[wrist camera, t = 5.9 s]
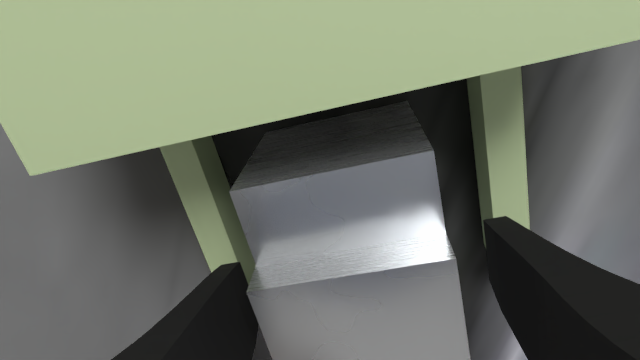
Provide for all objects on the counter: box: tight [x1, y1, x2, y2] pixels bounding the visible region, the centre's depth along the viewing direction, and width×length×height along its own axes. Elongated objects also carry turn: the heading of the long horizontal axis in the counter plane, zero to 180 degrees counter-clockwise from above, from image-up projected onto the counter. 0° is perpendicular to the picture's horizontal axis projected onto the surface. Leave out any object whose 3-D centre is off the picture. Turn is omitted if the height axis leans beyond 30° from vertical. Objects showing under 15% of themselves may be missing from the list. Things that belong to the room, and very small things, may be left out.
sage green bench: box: [0, 0, 640, 285], centre depth 11 cm, size 11×12×5 cm
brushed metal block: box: [229, 101, 470, 360], centre depth 12 cm, size 7×4×6 cm, turn 14°
